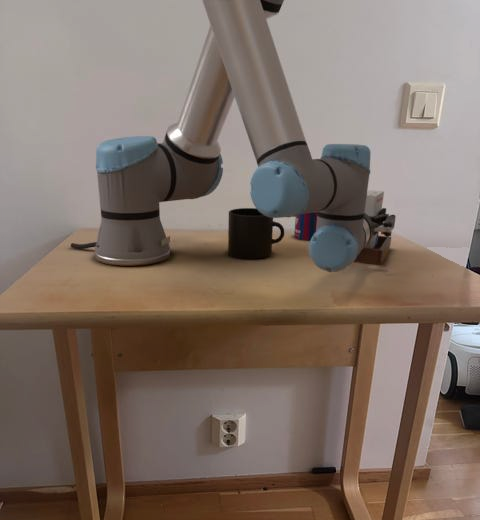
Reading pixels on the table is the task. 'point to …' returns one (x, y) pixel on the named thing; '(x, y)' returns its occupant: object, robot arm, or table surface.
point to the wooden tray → (375, 252)
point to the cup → (305, 225)
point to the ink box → (373, 211)
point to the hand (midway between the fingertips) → (370, 213)
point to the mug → (251, 234)
